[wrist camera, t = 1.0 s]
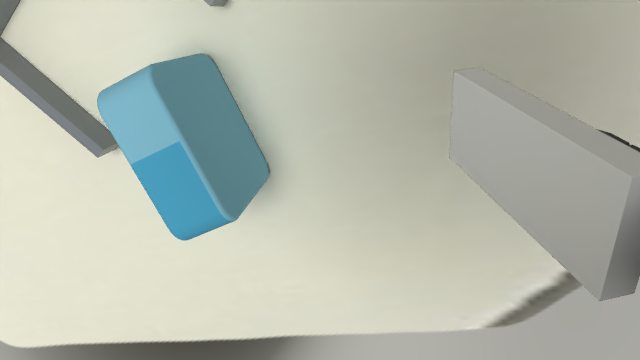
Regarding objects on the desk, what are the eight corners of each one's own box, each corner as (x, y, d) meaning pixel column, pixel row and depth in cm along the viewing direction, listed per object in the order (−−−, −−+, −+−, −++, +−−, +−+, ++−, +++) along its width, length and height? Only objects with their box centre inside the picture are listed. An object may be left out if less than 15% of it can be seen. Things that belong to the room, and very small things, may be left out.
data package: (166, 73, 43) (86, 95, 32) (209, 50, 42) (141, 65, 30) (231, 190, 46) (178, 249, 34) (273, 173, 44) (232, 227, 33)
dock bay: (84, -140, 38) (60, -152, 35) (230, -4, 40) (217, -5, 37) (-15, 37, 44) (-43, 39, 41) (115, 148, 46) (97, 157, 43)
